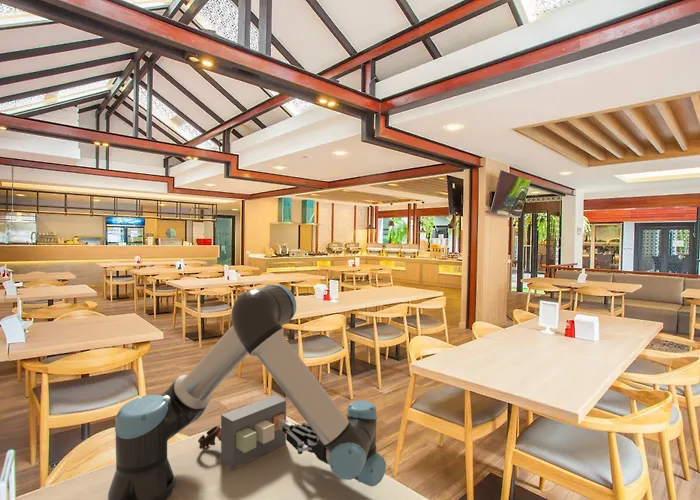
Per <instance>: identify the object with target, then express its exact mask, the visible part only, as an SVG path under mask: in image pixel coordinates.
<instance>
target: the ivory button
mask: <svg viewBox="0 0 700 500" xmlns="http://www.w3.org/2000/svg"><path fill="white" fill-rule="evenodd" d="M255 432H256V440H258V441H259V442H261V443H263V444H264V443H267V442H269V441H271V440H273V439H274V424H273V423H271V422H269V421H267V420H265V419H264V420H262V421H259V422H257V423H255Z"/></svg>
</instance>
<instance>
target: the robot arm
mask: <svg viewBox="0 0 700 500" xmlns="http://www.w3.org/2000/svg"><path fill="white" fill-rule="evenodd" d="M296 312H297V300H296V297H295V295H294V294H293V293H292V291H291V290H290V289H289V288H288V287H286V286H285V285H282V284H278V283H277V284H276V283H275V284H274V283H273V284H272V283H270V284H267V285H265V286H262V287H257V288H253V289H250V290H246V291H245V292H243V293H242V294H241V295H239V296H238V297H237V298H236V299H235V301H234V304H233V306H232V307H231V313H230V314H231V316H230V318H231V324H232V325H231V327H230V328H228V329H227V331H226V332H225V333H224V334H223V335H222V336H221V337H220V338H219V340H217V342H216V343H215V344H214V345H213V346H212V347H211V349H210V350H209V351H208V352H207V353H206V354H205V355H204V356H203V357H202V359H200V361H199V362H198V363H197V364H196V365H195V366H194V368H192V369H191V370H190V372H189V373H187V374H182V375H180V376H178V377H177V378H176V379H175V380H174V381H173V383H172V384H170V386H169V387H168V388H167V389H166V390H165V391H164V392H163V393H161V394H147V395H143V396H141V397H136V398H134V399H132V400H130V401H128V402H126V403H125V404H124V405H123V406H121V407H120V408H119V410H118V412H117V414H116V418H115V426H114V432H115V472H114V475H113V478H112V480H111V484H110V487H109V489H108V493H107V500H167V499H168V498H169V497H170V496H171V495H172V493H173V492H174V490H175V485H176V484H175V483H176V482H175V481H176V479H175V475H174V472H173V469H172V467H171V464H170V461H169V459H168V441H169V440H170V439H171V438H173V437H174V436H176V435H177V434H178V433H180V432H181V431H183V430H184V429H185V428H186V427H188V426H189V425H191V424H192V423H194V422H195V421H197V420H198V419H199V418H200V417H201V416H202V415H203V413H204V412H205V411H206V409H207V406H208V405H209V404H210V401H211V396H212V395H211V394H212V393H213V392H214V391H215V390H216V389H217V388H218V387H219V386H220V385H221V384H222V382H223V381H224V380H225V379H226V378H227V377H228V376H229V375H230V374H231V373H232V372H233V371H234V369H236V368H237V367H238V366H239V364H240V363H241V362H242V361H243V360H244V359H245V358H246V357H247V356H248V355H250V356H251V357H257V359H258V360H259V361H260V362H261V364H262V365H263V367H265V369H266V370H267V372H268V373H269V374H270V376H271V377H272V378H273V380H274V381H275V382H276V383H277V385H278V387H279V388H280V389H281V390H282V392H283V393H284V394H285V396H286V397H287V398H288V400H289V401H290V403H292V405H293V406H294V407H295V409H296V410H297V412H298V413H299V414H300V415H301V417H302V418H303V419H304V421H306V422H303V423H301V424H296V423H294V422H290V421H288V420H287V419H286V420H284V419H282V418H281V419H279V420H278V429H280V430H282V431H283V432H284V433H286V442H288V443H289V444H290V445H291V446H292V447H293V448H294V449H295V450H296V451H297V453H298V454H297V455H303V452H305V451H306V452H309V453H312V454H314V455H315V457H316V458H317V459H318V460H319V461H321V462H323V463H325V464H327V465H329V467H330V470H331V472H332V473H333V474H334V475H335V476H336V477H338V478H339V479H341V480H345V481H351V480H356V481H358V482H359V483H361V484H363V485H366V486H368V487H375V486H378V484H381V482H382V480H383V479H384V476H385V473H386V469H387V467H386V466H387V463H386V460H385V457H384V456H382V455H380V453H378V452H377V419H378V417H377V407H376V405H375V404H374V403H373V402H371V401H367V400H354V401H352V402H350V403H349V404H348V407H347V413H346V416H345V414H344V413H343V412H342V411H341V409H340V408H339V406H338V405H337V404H336V402H335V401H334V400H333V399H332V397H331V396H330V395H329V394H328V392H327V391H326V390H325V388H324V387H323V385H322V384H321V383H320V382H319V381H318V379H317V378H316V376H314V374H313V373H312V372H311V370H310V369H309V367H308V366H307V365H306V364H305V363H304V361H303V360H302V359H301V357H300V356H299V355H298V353H297V352H296V351H295V349H294V348H293V346H292V345H291V344H290V343H289V342H288V340H287V339H286V337H285V336H284V330H285V329H284V328H283V326H284V325H286V324H288V323H289V322H291V320H292V319H293V318H295V317H294V316H295V315H296Z"/></svg>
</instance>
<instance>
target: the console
mask: <svg viewBox="0 0 700 500" xmlns="http://www.w3.org/2000/svg"><path fill="white" fill-rule="evenodd" d="M279 413H283V414H284V420H286V421H287V400H286V399H285V398H282V397H280V396H277V395H271V396H268V397H266V398H264V399H261V400H258V401H255V402H253V403H249V404H247V405H244V406H242V407H239V408H236V409H233V410H231V411H228V412H225V413H222V414H220V420H221V421H220V428H221V441H220V463H222V464H224V465H225V466H226V467H228V468H230V470H234V469H237V468H238V467H240V466H242V465H244V464H247V463H248V462H251V461H253V460H255V459H256V458H258V457H261V456H263V455H264V454H266V453H267V454H268V453H269V452H271V451H273V450H275V449H277V448H279V447H281V446H283V445H285V444H286V443H287V440H286V433H284V432H283V431H282V430H278V431H275V432H274V439H273V440H271V441H269V442H267V443H264V444H263V443H261V442H259V441H258V440H256V448H254V449H252V450H250V451H248V452H245V453H244V452H242V451H241V450H239V449H237V448H236V431H238V430H240V429H243V428H245V427H248V428H250V429H251V430H253V431H255V423H257V422H259V421H262V420H264V419H265V420H267V421H269V422H271V423H272V416H274V415H276V414H279Z"/></svg>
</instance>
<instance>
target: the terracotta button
mask: <svg viewBox="0 0 700 500" xmlns="http://www.w3.org/2000/svg"><path fill="white" fill-rule="evenodd" d="M281 418H282V419H284V414H283V413H279V414H276V415H274V416H272V423H273V424H274V432H275V431H278V430H280V429H278V420H279V419H281Z"/></svg>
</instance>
